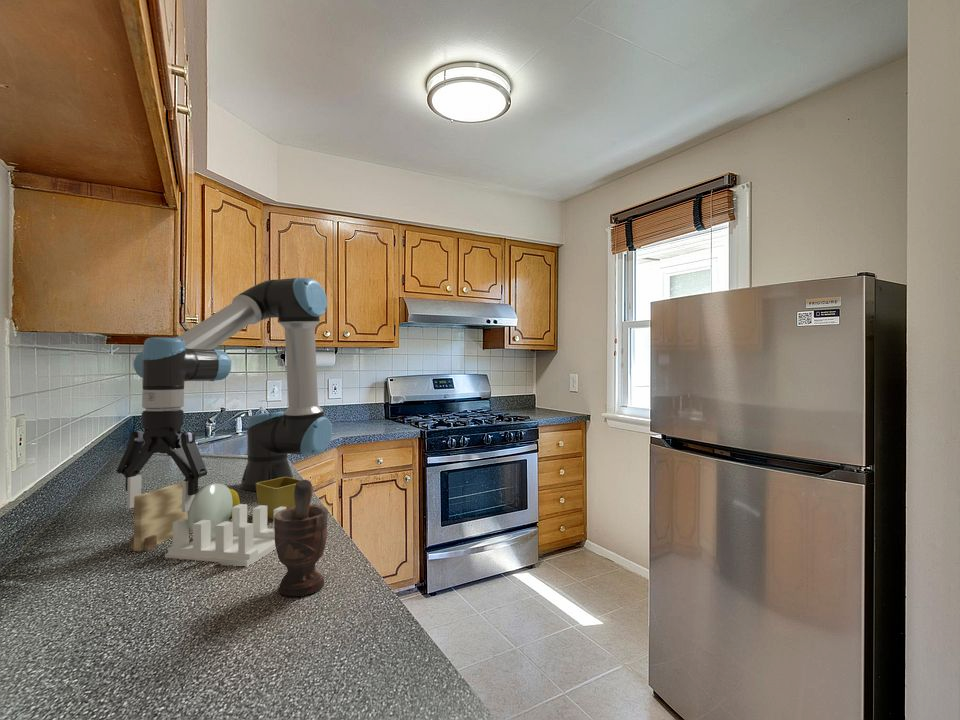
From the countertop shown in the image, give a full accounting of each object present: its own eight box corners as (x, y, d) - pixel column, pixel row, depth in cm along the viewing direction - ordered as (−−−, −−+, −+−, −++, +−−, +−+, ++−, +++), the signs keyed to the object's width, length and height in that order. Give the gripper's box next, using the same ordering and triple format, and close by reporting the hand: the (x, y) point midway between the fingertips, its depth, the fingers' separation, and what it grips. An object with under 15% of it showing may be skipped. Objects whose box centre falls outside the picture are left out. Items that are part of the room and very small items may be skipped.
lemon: (228, 524, 114) (229, 491, 114) (208, 522, 115) (209, 489, 115) (244, 517, 119) (244, 485, 119) (225, 515, 120) (225, 484, 120)
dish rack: (220, 533, 108) (220, 501, 108) (292, 538, 104) (292, 506, 104) (165, 560, 93) (165, 523, 93) (246, 567, 90) (247, 529, 90)
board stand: (174, 533, 107) (174, 519, 107) (190, 534, 107) (190, 521, 107) (130, 552, 97) (130, 537, 97) (148, 553, 96) (148, 538, 96)
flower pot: (306, 516, 120) (306, 480, 120) (275, 526, 113) (275, 488, 113) (285, 510, 125) (285, 476, 125) (254, 519, 117) (254, 483, 117)
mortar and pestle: (344, 595, 79) (345, 475, 79) (293, 613, 73) (293, 484, 73) (314, 572, 87) (315, 464, 88) (266, 588, 81) (266, 471, 82)
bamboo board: (181, 530, 108) (181, 482, 108) (187, 530, 107) (187, 482, 108) (133, 550, 96) (134, 496, 96) (140, 551, 96) (141, 496, 96)
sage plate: (226, 527, 105) (227, 477, 105) (232, 527, 105) (232, 478, 105) (187, 546, 94) (188, 491, 94) (193, 546, 94) (194, 491, 94)
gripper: (97, 409, 100) (95, 510, 100) (200, 411, 96) (198, 517, 95) (129, 406, 108) (127, 500, 107) (226, 409, 103) (224, 506, 103)
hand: (160, 508), depth 101 cm, fingers open, 13 cm apart
